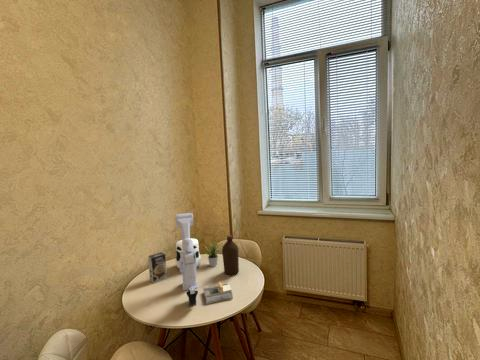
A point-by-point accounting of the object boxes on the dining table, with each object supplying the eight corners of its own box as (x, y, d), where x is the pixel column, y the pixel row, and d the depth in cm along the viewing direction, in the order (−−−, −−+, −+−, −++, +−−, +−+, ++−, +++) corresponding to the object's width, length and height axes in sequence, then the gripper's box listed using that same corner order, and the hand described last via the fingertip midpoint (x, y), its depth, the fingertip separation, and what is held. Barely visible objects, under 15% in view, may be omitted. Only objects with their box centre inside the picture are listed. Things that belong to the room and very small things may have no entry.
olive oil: (236, 277, 159) (233, 238, 157) (220, 275, 163) (218, 237, 161) (242, 270, 169) (239, 233, 167) (227, 268, 173) (225, 232, 171)
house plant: (229, 264, 179) (227, 241, 178) (214, 271, 169) (212, 247, 168) (216, 259, 189) (214, 238, 188) (201, 265, 180) (199, 243, 178)
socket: (203, 292, 143) (203, 287, 143) (227, 287, 147) (227, 282, 147) (206, 303, 132) (206, 298, 132) (232, 298, 136) (232, 293, 135)
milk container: (196, 259, 191) (194, 236, 190) (205, 267, 176) (203, 242, 175) (173, 265, 182) (171, 241, 181) (180, 274, 168) (178, 248, 166)
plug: (188, 302, 134) (187, 288, 133) (195, 301, 135) (194, 286, 134) (189, 306, 131) (188, 291, 130) (196, 304, 132) (195, 290, 131)
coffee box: (153, 283, 157) (151, 258, 156) (149, 280, 162) (147, 255, 160) (167, 278, 163) (165, 254, 162) (163, 275, 168) (161, 251, 166)
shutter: (218, 287, 142) (218, 282, 142) (229, 285, 144) (228, 280, 144) (221, 292, 137) (220, 287, 136) (231, 290, 138) (231, 285, 138)
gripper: (181, 270, 137) (183, 294, 138) (183, 283, 123) (185, 309, 125) (194, 268, 139) (196, 292, 140) (197, 280, 125) (199, 306, 126)
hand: (192, 300), depth 133 cm, fingers open, 7 cm apart
